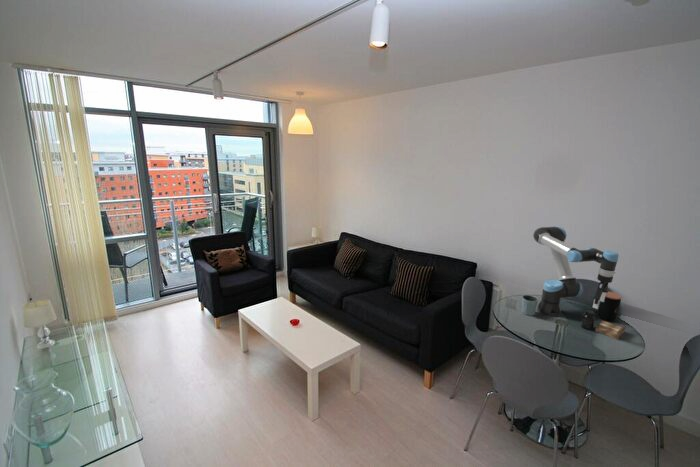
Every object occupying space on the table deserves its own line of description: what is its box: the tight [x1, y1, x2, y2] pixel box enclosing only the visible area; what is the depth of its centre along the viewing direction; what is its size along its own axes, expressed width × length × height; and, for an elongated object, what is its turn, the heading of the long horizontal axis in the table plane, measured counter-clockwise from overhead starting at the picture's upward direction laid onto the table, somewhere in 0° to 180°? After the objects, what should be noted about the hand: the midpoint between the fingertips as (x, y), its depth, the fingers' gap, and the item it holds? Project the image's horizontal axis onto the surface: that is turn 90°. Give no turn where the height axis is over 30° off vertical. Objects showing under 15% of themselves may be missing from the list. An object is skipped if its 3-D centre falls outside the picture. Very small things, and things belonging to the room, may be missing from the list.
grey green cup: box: [521, 294, 539, 317], centre depth 233 cm, size 10×10×12 cm
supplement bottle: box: [580, 309, 596, 331], centre depth 214 cm, size 7×7×12 cm
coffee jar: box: [597, 291, 622, 322], centre depth 225 cm, size 11×11×18 cm
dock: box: [595, 320, 626, 341], centre depth 210 cm, size 12×13×5 cm
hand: (598, 304), depth 210 cm, fingers open, 13 cm apart
